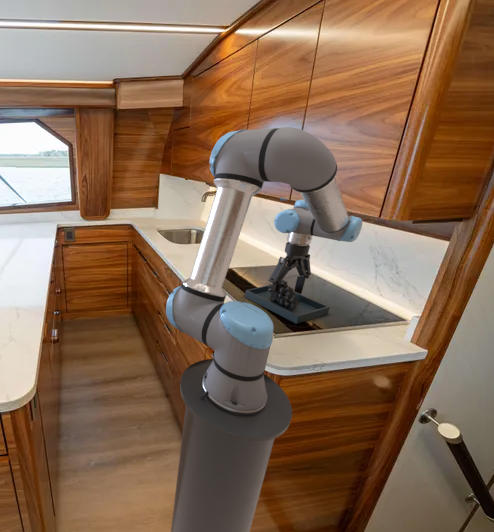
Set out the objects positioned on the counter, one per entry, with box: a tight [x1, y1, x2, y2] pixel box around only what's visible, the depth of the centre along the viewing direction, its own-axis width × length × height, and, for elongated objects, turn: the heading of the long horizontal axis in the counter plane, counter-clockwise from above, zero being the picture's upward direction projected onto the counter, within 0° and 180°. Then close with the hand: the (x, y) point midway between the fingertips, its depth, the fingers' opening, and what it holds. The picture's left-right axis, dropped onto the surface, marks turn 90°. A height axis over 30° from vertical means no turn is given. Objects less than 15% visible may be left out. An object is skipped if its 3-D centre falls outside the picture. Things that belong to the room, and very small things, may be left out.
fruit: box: [267, 279, 299, 310], centre depth 116 cm, size 9×8×15 cm
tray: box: [244, 284, 331, 325], centre depth 117 cm, size 17×23×3 cm
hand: (285, 295), depth 116 cm, fingers open, 13 cm apart
